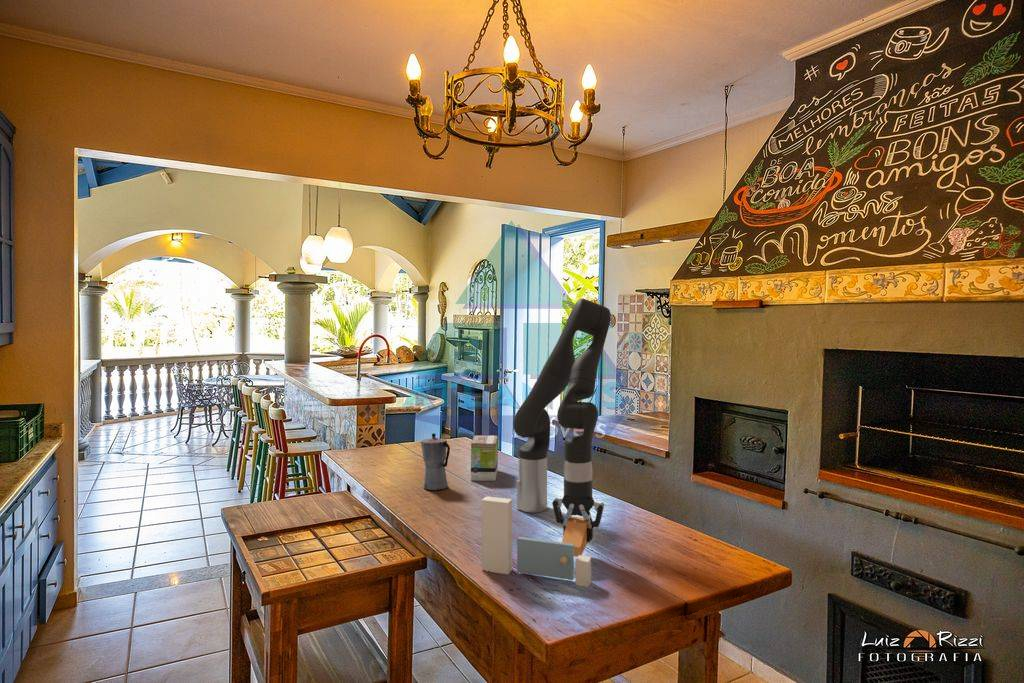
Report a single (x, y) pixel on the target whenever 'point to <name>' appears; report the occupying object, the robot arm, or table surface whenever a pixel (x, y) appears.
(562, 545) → the door
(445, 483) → the moka pot
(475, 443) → the tea box
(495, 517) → the door frame
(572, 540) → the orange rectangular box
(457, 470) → the table surface
